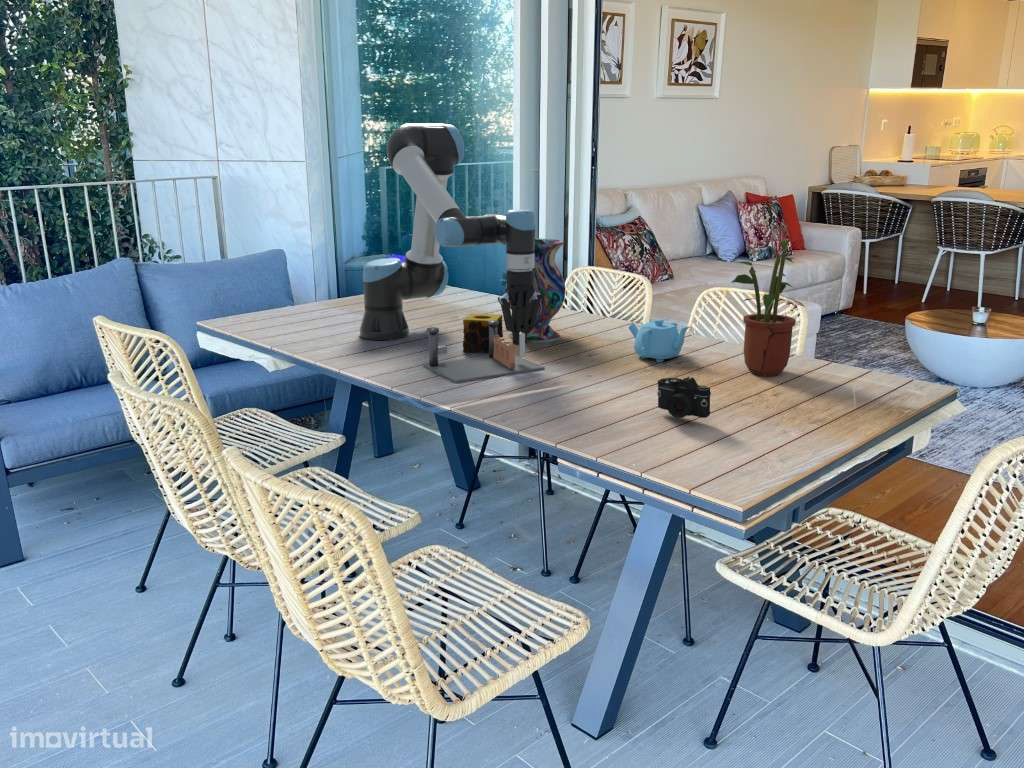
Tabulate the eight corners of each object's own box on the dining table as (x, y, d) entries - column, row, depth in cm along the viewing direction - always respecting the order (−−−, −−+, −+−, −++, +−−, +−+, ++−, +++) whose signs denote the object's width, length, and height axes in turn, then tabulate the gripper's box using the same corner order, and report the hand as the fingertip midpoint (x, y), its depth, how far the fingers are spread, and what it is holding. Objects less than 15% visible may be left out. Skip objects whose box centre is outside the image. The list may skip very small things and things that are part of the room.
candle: (496, 355, 248) (496, 321, 245) (462, 353, 250) (461, 319, 247) (504, 347, 258) (504, 314, 255) (471, 345, 260) (470, 312, 257)
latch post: (423, 366, 236) (422, 327, 233) (444, 363, 239) (443, 324, 236) (431, 369, 232) (430, 330, 229) (452, 366, 235) (451, 327, 232)
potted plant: (791, 370, 233) (803, 238, 223) (789, 384, 219) (802, 245, 209) (725, 364, 238) (734, 236, 229) (719, 378, 224) (728, 242, 215)
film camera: (644, 414, 197) (647, 379, 190) (661, 397, 201) (664, 363, 195) (696, 437, 190) (702, 402, 184) (713, 419, 195) (718, 384, 188)
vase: (496, 342, 264) (495, 243, 255) (518, 330, 280) (518, 236, 272) (552, 347, 257) (554, 246, 249) (572, 335, 273) (574, 239, 265)
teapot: (680, 353, 251) (682, 314, 248) (688, 365, 238) (690, 324, 235) (627, 353, 251) (628, 314, 248) (632, 364, 238) (634, 324, 235)
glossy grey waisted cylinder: (485, 358, 244) (485, 321, 241) (495, 357, 245) (495, 319, 243) (491, 361, 241) (490, 323, 238) (501, 359, 243) (501, 321, 240)
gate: (493, 357, 241) (493, 334, 239) (498, 357, 241) (498, 334, 240) (510, 369, 229) (510, 345, 227) (515, 368, 230) (515, 344, 228)
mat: (423, 366, 235) (423, 364, 235) (508, 354, 249) (508, 352, 248) (455, 383, 220) (455, 380, 219) (544, 369, 233) (544, 367, 233)
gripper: (506, 273, 223) (506, 362, 229) (548, 269, 229) (547, 356, 236) (491, 269, 229) (492, 356, 235) (533, 265, 235) (532, 350, 242)
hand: (519, 356), depth 235 cm, fingers closed
